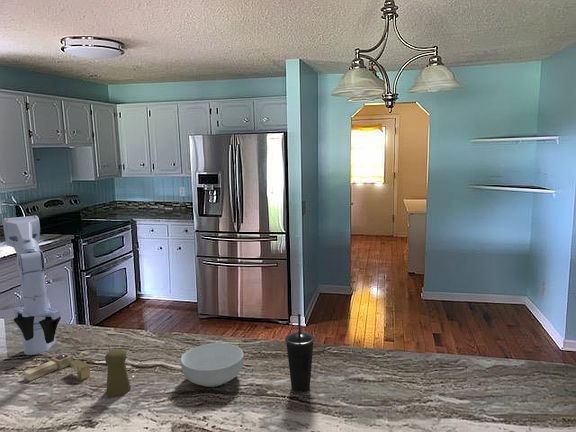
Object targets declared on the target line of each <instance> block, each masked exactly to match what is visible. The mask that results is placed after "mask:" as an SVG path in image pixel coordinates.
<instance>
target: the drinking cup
mask: <svg viewBox="0 0 576 432" xmlns="http://www.w3.org/2000/svg"><path fill="white" fill-rule="evenodd" d="M301 318H302V315H301V313H298V314H297V329H298V330H297V331H294V332H292V333H291V332H290V333H289V334H287V335H285V338H284V342H285V344H286V352H287V353H286V354H287V361H288V368H289V375H290V376H289V377H290V385H291V389H292V391H293V392H296V393H304V392H307V391H309V390H310V388H311V376H312V364H313V354H314V353H313V352H314V351H313V350H314V342H315V339H316V338H315V336H314V335H313V334H311V333H308V332H305V331H302V328H301V327H302V320H301Z"/></svg>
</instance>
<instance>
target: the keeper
mask: <svg viewBox="0 0 576 432" xmlns="http://www.w3.org/2000/svg"><path fill="white" fill-rule="evenodd" d="M69 366H70V367H72V368H74V369H76V371H77V372H76V373H77V378H78V379H79V380H80V381H83V380H86V379H88V378H90V377H91V371H90V370H91V369H90V365H89V364H88V363H87V362H86V363H84V362H83V361H82V360H80V359H73V361H71V362H69Z"/></svg>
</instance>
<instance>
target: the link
mask: <svg viewBox="0 0 576 432" xmlns="http://www.w3.org/2000/svg"><path fill="white" fill-rule="evenodd" d="M61 354H65V358H64V359H61V360H58V356H59V355H61ZM71 361H74V355H72V354H69V353H67V352H62V353H59V354H58V355H55V356H52V357H50V360H49V361H47V362H45V363H42V364H39V365H37V366H35V367H32V368H30V369H28V370H25V371H24V372H23V374H24V379H25V380H27V381H29V382H31V381H33V380H36V379H38V378H40V377H43V376H45V375H47V374H49V373H53V372H54V371H56V370H61V369H64V368H67V367H68V366H70V365H69V362H71Z"/></svg>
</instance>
